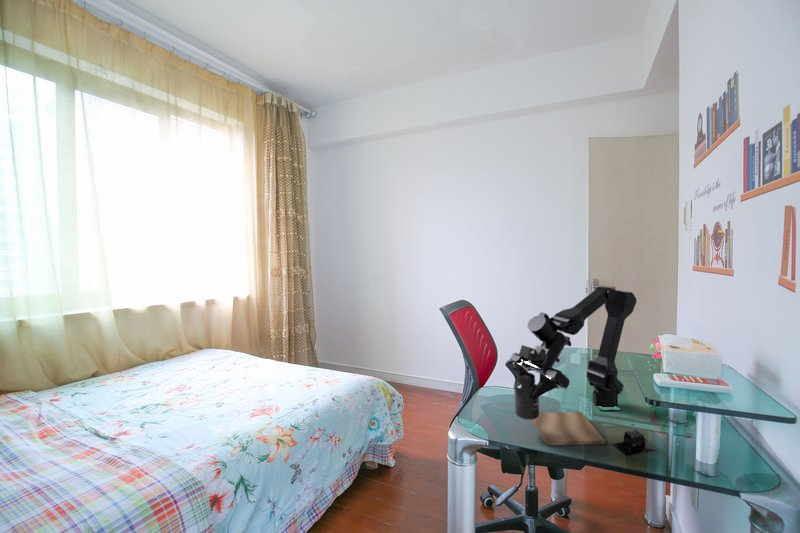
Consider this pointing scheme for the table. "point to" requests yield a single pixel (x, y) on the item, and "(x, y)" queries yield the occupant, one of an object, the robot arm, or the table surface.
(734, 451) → the table surface
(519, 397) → the supplement bottle
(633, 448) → the black block on base
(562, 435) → the board
